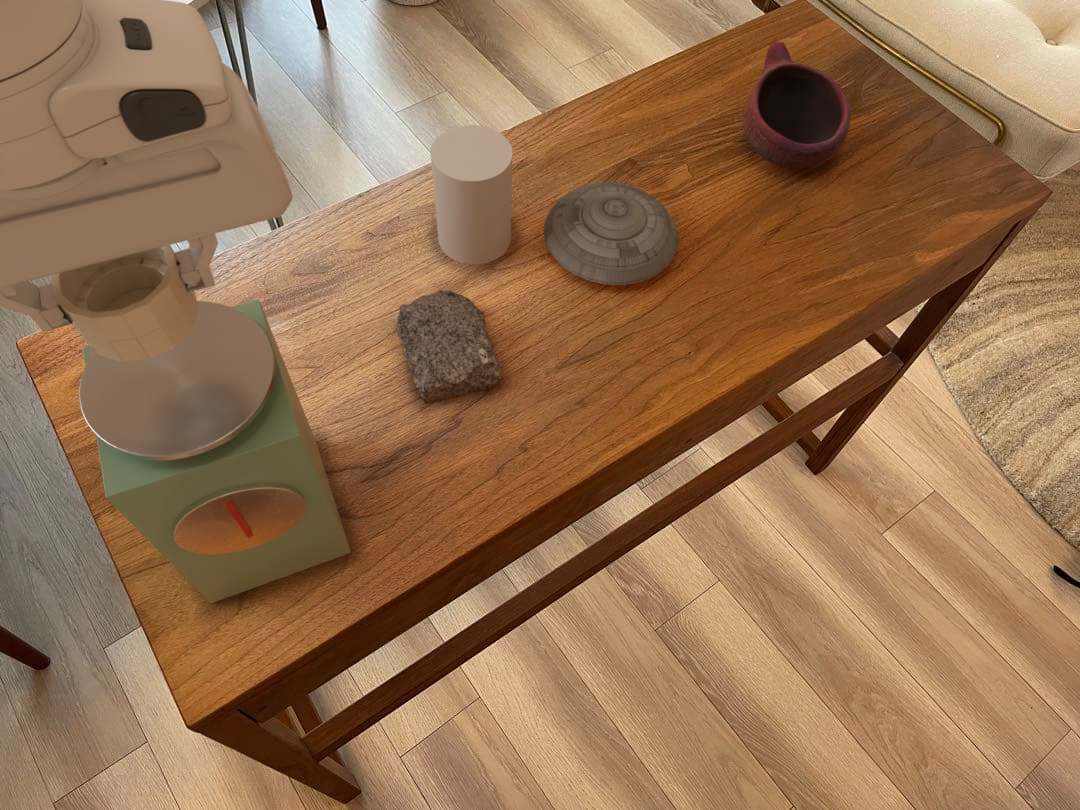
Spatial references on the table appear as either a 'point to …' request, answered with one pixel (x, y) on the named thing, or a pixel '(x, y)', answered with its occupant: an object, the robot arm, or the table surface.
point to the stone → (447, 346)
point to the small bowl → (128, 304)
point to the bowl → (795, 112)
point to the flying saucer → (611, 234)
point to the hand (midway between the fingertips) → (131, 299)
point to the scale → (214, 454)
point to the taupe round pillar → (472, 193)
